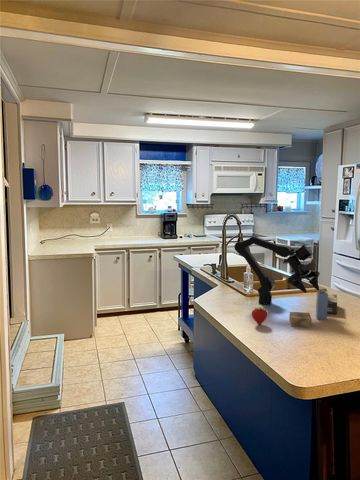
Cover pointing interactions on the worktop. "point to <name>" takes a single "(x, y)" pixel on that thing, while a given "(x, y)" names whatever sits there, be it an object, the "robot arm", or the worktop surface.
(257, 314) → the strawberry
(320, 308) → the blue-grey tall block
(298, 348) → the worktop surface
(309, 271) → the robot arm
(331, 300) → the coffee box
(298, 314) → the walnut base
